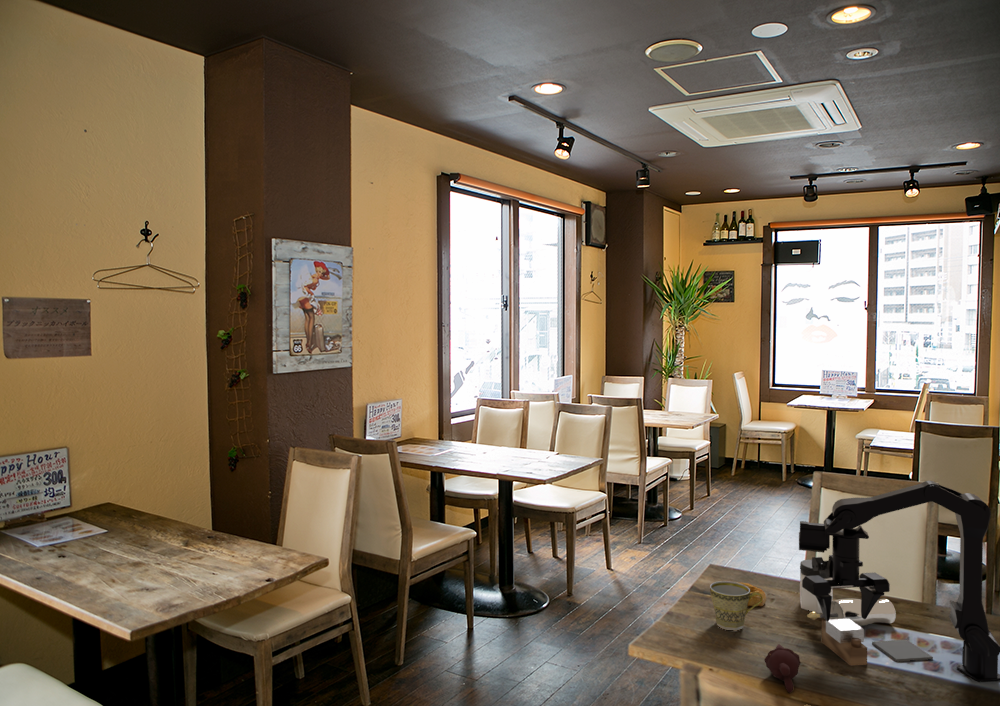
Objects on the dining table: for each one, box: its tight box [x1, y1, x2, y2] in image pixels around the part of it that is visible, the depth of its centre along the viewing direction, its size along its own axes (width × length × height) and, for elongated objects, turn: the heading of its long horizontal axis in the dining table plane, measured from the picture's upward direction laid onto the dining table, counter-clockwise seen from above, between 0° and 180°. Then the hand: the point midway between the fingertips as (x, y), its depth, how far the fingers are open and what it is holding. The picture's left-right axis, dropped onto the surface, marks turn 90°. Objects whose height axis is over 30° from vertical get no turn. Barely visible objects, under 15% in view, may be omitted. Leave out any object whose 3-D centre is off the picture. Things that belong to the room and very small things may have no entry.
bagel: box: [739, 582, 767, 607], centre depth 199 cm, size 10×11×5 cm
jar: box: [799, 559, 834, 614], centre depth 194 cm, size 9×8×12 cm
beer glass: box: [830, 598, 897, 627], centre depth 183 cm, size 7×7×15 cm
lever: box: [806, 611, 838, 621], centre depth 177 cm, size 9×4×2 cm, turn 5°
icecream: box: [764, 643, 801, 694], centre depth 156 cm, size 7×7×15 cm
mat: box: [871, 639, 934, 663], centre depth 168 cm, size 9×9×1 cm
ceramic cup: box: [709, 580, 762, 631], centre depth 182 cm, size 13×10×10 cm
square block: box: [826, 619, 865, 643], centre depth 167 cm, size 6×6×3 cm
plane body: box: [821, 618, 868, 667], centre depth 167 cm, size 12×4×6 cm, turn 6°
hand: (845, 619), depth 167 cm, fingers open, 9 cm apart
